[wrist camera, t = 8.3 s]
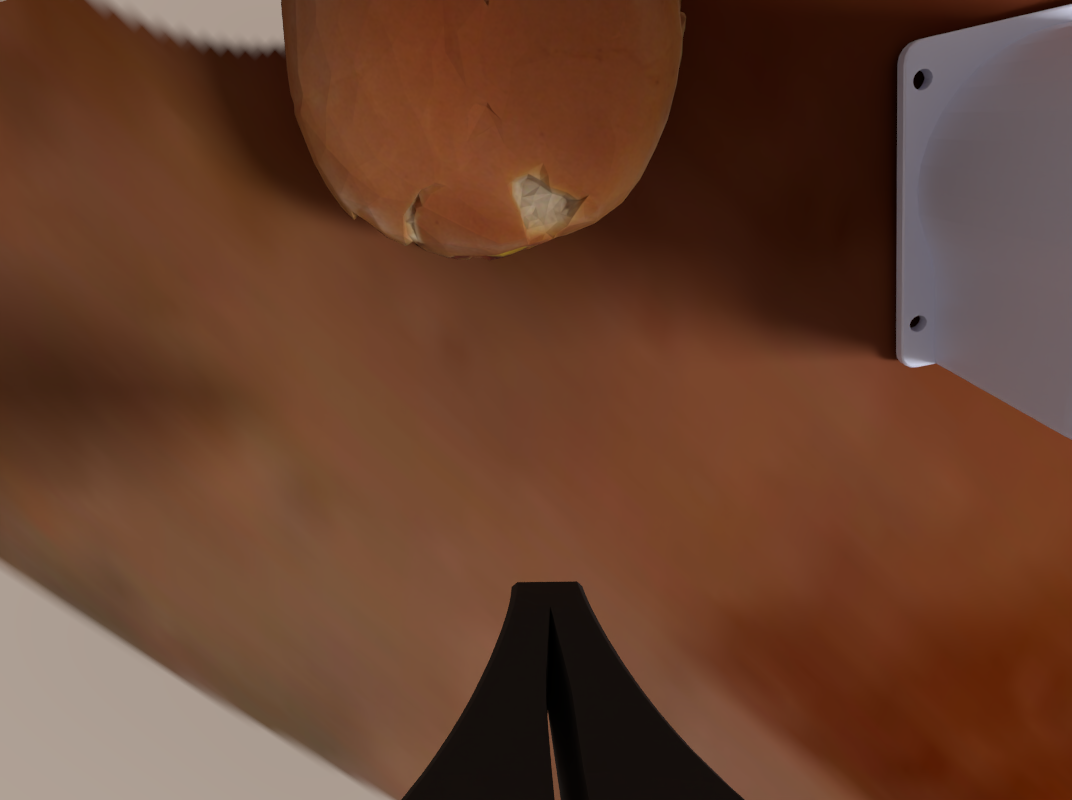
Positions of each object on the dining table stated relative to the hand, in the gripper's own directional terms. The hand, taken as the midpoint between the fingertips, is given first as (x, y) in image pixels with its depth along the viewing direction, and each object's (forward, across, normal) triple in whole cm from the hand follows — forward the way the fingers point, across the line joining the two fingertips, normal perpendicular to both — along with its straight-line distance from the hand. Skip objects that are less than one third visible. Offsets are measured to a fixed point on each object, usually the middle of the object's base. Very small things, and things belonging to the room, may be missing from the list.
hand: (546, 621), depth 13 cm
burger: (+10, +1, -11) cm, 15 cm away
